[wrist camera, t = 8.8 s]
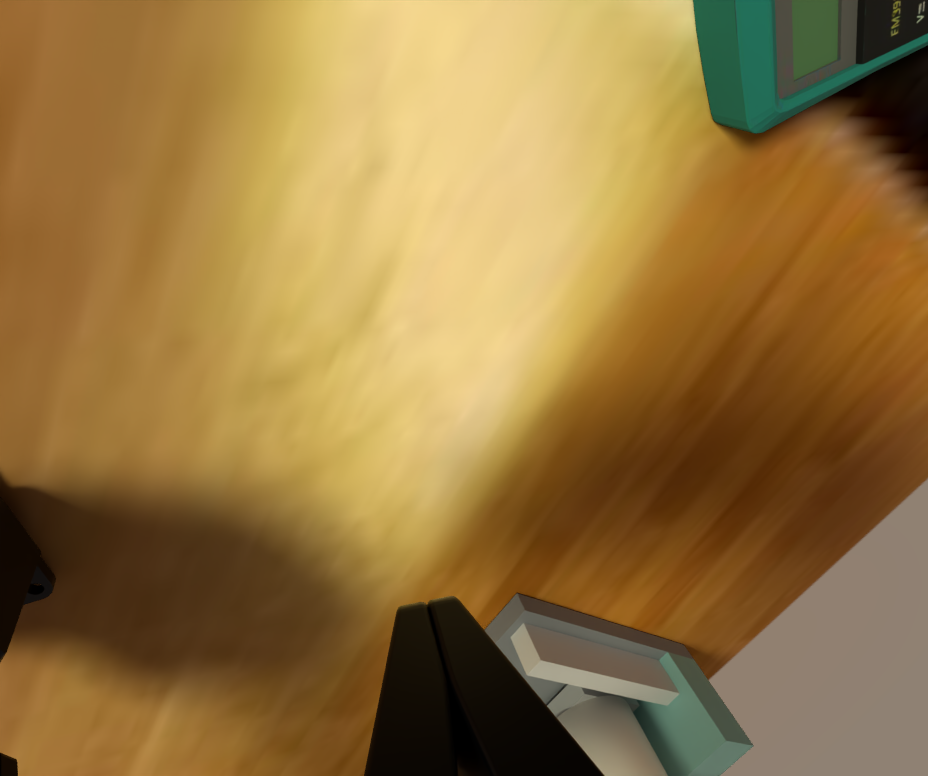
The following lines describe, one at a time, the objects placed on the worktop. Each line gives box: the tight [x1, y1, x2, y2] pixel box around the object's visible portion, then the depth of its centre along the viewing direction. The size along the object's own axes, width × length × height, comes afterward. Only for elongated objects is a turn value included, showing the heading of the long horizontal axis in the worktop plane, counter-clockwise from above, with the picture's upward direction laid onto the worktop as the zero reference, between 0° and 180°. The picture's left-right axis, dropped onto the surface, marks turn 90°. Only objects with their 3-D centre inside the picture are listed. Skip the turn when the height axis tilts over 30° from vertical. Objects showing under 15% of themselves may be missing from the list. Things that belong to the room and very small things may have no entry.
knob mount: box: [484, 593, 753, 776], centre depth 32 cm, size 13×10×6 cm
